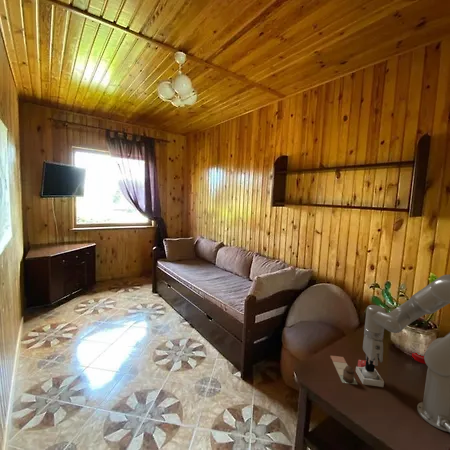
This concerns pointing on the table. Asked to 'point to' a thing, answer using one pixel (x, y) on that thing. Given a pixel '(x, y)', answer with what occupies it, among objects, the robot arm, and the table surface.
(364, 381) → the popper base
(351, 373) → the pawn
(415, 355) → the decorative ornament
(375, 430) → the table surface
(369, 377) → the dome
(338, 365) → the game board
